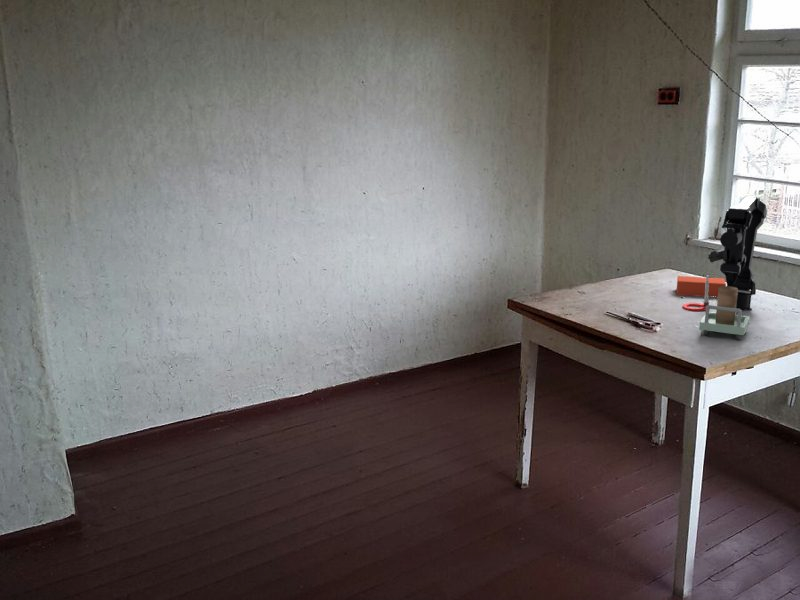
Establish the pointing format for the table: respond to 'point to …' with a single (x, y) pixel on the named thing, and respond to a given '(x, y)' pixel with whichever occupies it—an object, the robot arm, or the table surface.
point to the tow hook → (702, 306)
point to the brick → (698, 286)
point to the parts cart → (737, 328)
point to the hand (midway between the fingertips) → (731, 286)
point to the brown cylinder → (726, 305)
